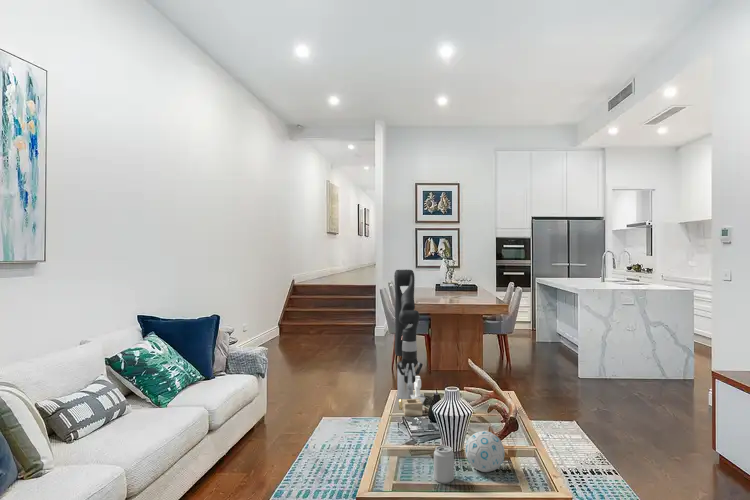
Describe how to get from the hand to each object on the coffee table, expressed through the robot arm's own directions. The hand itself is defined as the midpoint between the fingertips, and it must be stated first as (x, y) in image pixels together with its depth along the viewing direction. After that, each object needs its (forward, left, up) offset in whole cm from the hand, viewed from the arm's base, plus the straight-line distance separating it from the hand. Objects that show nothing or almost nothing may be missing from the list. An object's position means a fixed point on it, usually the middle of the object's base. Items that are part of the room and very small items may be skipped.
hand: (409, 382), depth 266 cm
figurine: (-23, +8, -18) cm, 30 cm away
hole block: (-7, +2, -18) cm, 19 cm away
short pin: (-14, -2, -18) cm, 23 cm away
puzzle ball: (+64, +18, -18) cm, 69 cm away
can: (+70, 0, -18) cm, 72 cm away
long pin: (0, 0, -3) cm, 3 cm away
